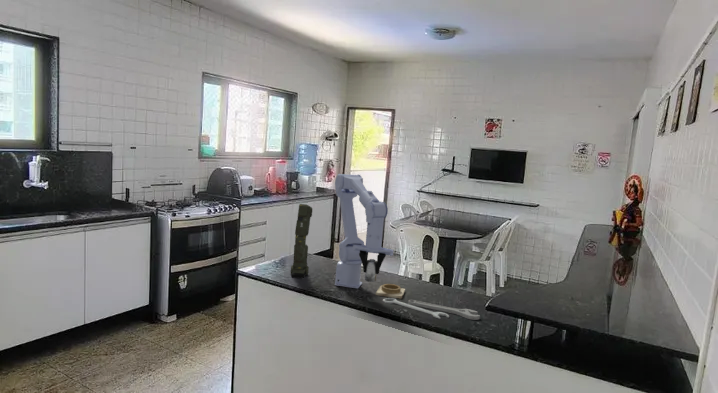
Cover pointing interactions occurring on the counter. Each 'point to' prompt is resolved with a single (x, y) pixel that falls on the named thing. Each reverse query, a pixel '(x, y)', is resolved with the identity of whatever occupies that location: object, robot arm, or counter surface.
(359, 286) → the robot arm
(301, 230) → the mechanical leg
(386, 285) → the socket
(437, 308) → the adjustable wrench
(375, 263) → the clear glass cylinder
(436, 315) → the wrench
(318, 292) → the counter surface
